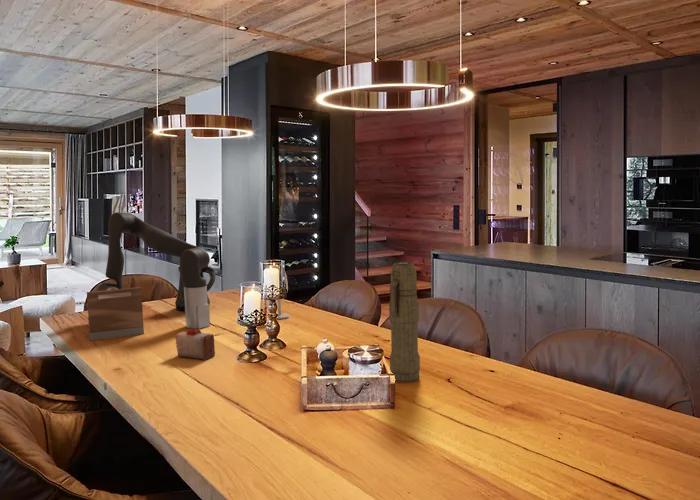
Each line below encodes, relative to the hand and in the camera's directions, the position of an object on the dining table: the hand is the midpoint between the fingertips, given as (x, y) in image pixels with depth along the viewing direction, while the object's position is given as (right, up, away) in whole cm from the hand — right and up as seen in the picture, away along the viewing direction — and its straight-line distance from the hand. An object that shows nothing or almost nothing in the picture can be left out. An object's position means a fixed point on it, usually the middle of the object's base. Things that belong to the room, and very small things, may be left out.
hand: (115, 304), depth 231 cm
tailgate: (+1, -10, 0) cm, 10 cm away
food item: (+40, -16, -28) cm, 51 cm away
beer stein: (+18, -7, +53) cm, 57 cm away
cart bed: (-3, -12, +9) cm, 15 cm away
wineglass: (+62, -9, +29) cm, 69 cm away
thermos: (+110, -17, -56) cm, 125 cm away
